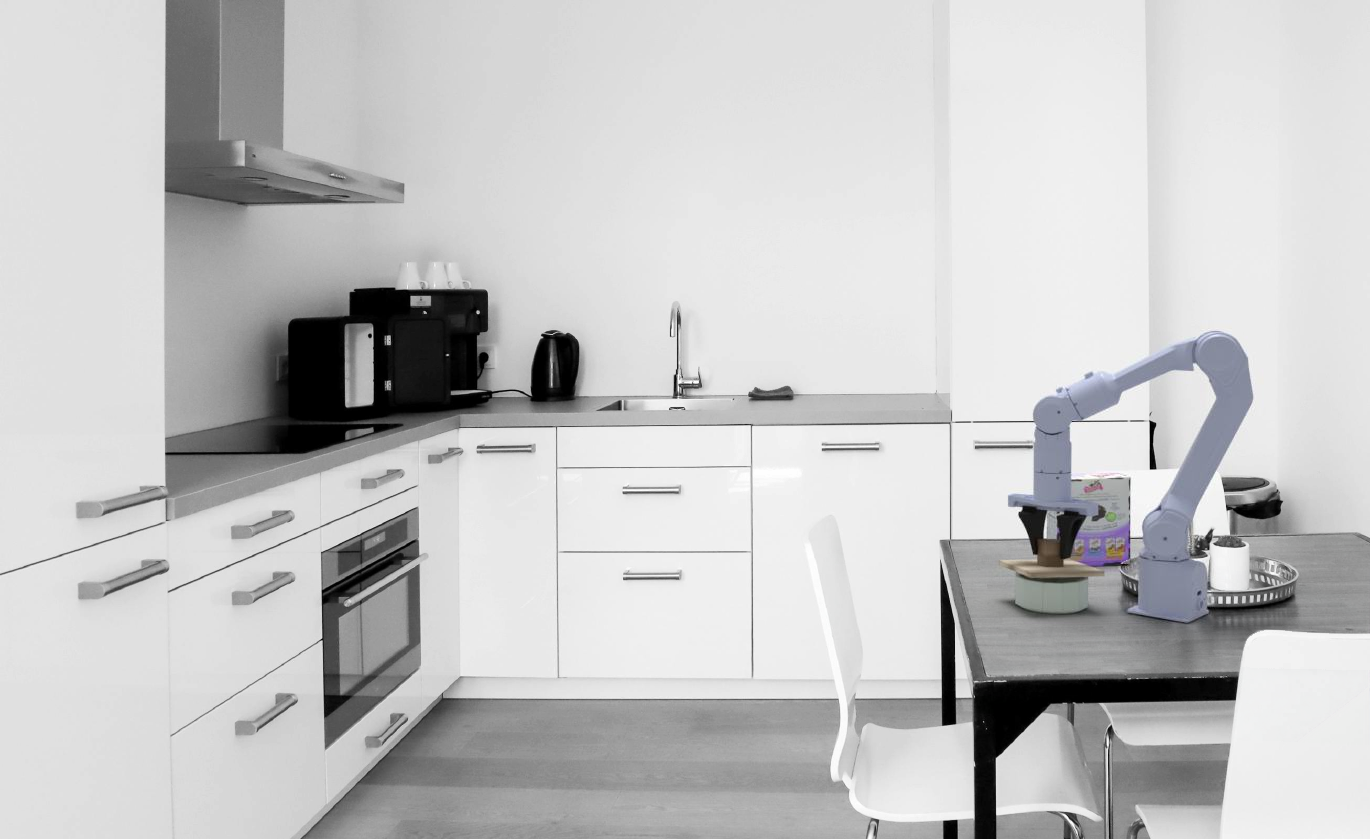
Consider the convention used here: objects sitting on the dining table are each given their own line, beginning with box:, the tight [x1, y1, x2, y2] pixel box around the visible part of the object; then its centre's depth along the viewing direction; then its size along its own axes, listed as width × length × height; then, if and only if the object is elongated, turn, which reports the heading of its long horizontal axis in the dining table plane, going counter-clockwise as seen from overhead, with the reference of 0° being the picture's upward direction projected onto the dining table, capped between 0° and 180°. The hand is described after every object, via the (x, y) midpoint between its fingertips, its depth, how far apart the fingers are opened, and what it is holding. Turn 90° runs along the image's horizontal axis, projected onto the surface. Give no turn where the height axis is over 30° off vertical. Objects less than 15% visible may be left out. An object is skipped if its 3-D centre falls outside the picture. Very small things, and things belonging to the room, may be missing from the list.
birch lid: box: [998, 538, 1105, 578], centre depth 186 cm, size 12×12×5 cm
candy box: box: [1046, 472, 1132, 567], centre depth 216 cm, size 14×6×16 cm, turn 92°
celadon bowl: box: [1014, 572, 1089, 615], centre depth 187 cm, size 11×11×5 cm
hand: (1051, 555), depth 186 cm, fingers closed on birch lid, 4 cm apart
